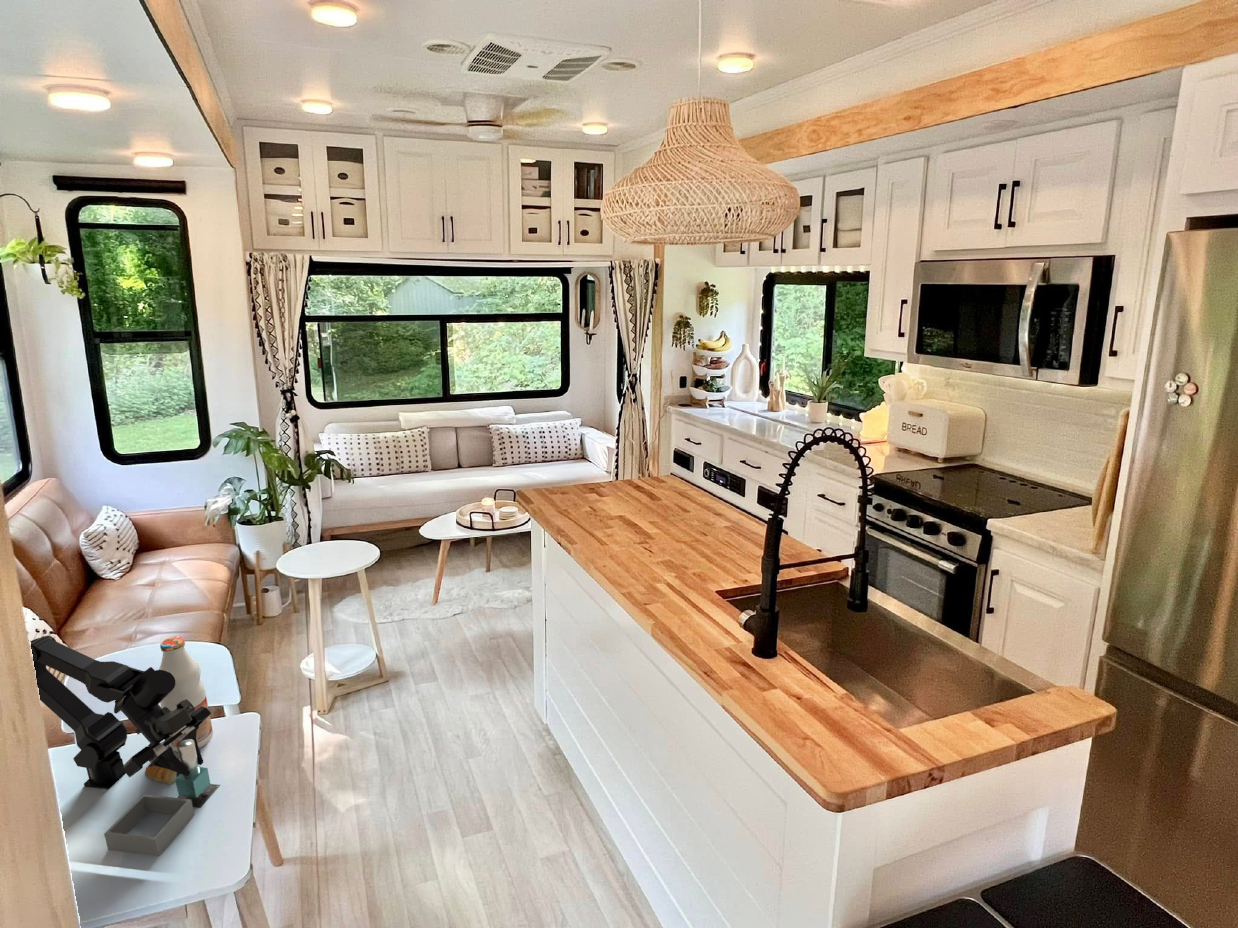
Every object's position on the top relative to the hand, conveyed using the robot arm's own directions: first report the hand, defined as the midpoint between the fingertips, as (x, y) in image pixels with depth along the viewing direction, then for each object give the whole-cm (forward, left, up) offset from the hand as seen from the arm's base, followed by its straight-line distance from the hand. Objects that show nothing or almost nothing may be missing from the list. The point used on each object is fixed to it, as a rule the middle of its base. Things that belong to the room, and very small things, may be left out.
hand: (195, 769), depth 166 cm
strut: (-1, 0, -6) cm, 6 cm away
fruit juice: (-14, +17, -8) cm, 24 cm away
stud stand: (-1, 0, -8) cm, 8 cm away
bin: (-3, -11, -8) cm, 14 cm away
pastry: (-12, +6, -9) cm, 16 cm away
